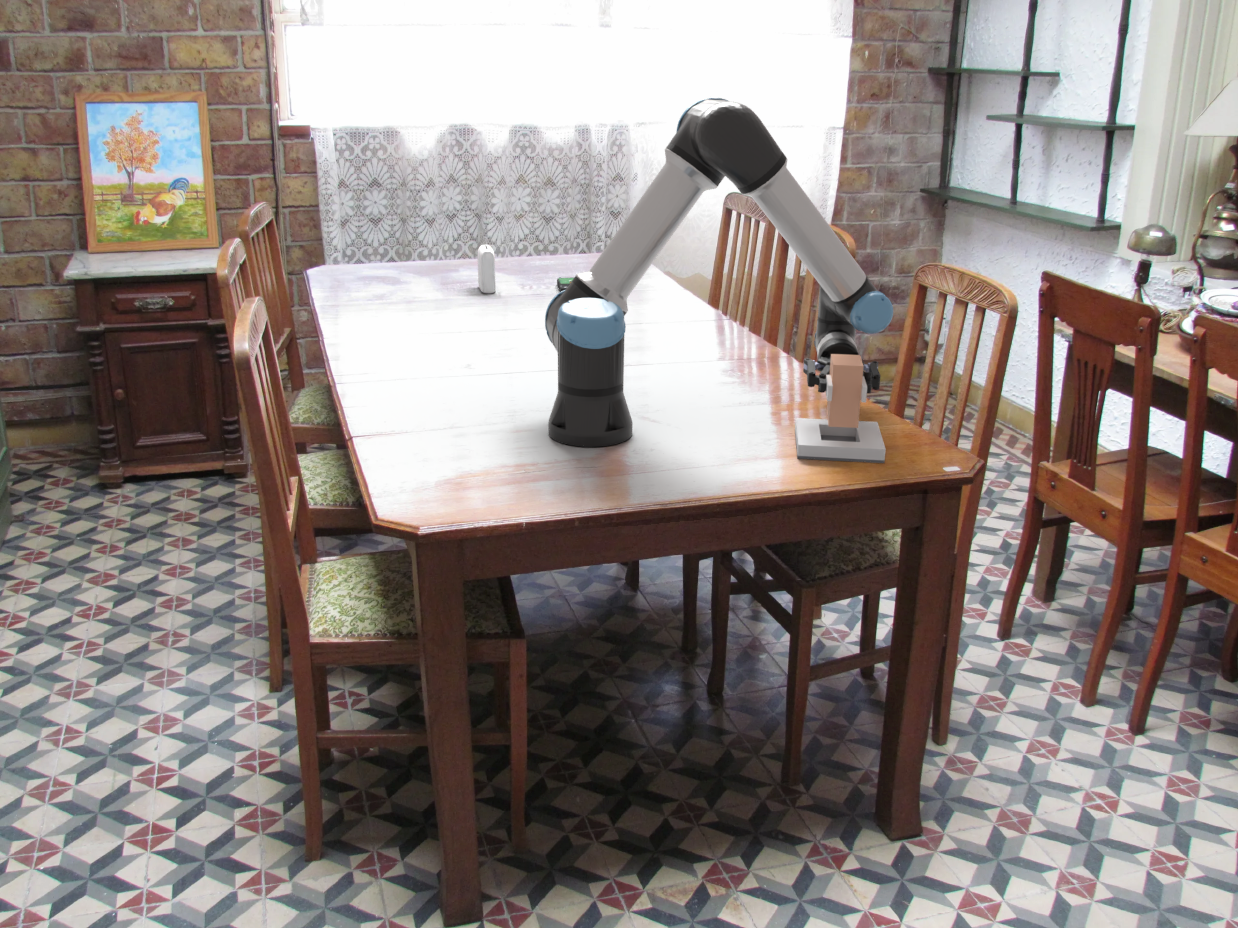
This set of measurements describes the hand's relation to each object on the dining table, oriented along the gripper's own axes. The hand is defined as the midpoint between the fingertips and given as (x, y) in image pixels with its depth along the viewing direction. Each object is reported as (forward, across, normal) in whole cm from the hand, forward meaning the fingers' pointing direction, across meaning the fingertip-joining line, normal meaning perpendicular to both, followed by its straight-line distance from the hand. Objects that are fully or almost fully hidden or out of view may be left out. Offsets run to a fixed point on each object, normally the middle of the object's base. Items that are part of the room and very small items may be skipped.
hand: (847, 394), depth 192 cm
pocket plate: (-5, 0, -11) cm, 12 cm away
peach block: (-5, 0, -6) cm, 8 cm away
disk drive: (-125, +65, -12) cm, 141 cm away
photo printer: (-120, +89, -11) cm, 150 cm away
